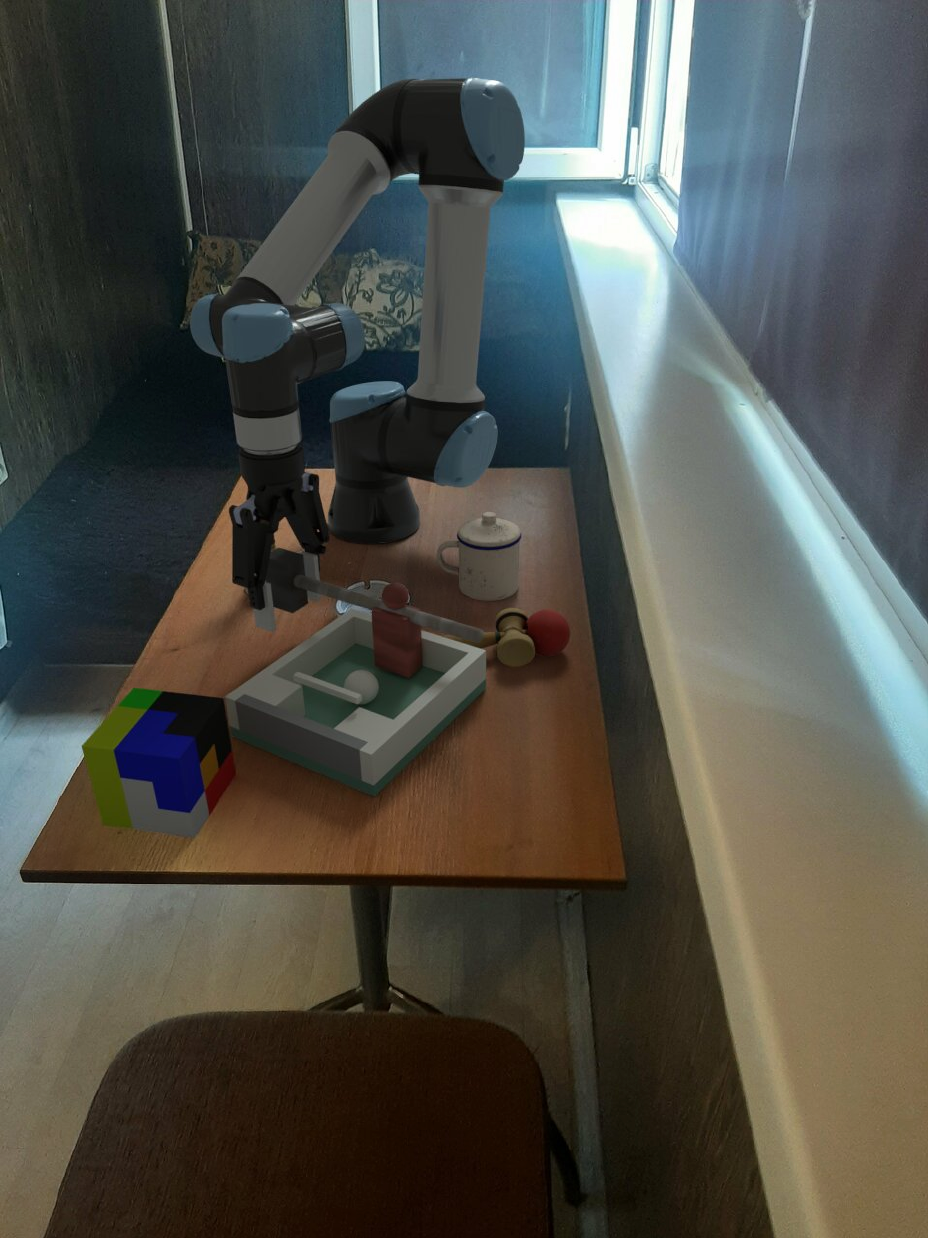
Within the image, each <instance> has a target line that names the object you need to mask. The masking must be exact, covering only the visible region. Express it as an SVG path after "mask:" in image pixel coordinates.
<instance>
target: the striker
mask: <svg viewBox="0 0 928 1238" xmlns="http://www.w3.org/2000/svg"><path fill="white" fill-rule="evenodd" d="M276 548H277V549H275V550H273V551H272V552H270V558H269V563H268V569H267V574H266V582H267V583H270V584H271V592H272V600H273V608H275V609H278V610H281V611H284V612H287V613H290V614H294V613H296V612H297V611H299V610H300V609H302V608H304V607H305V606H307V605H308V604H309V599H308V596H307V590H308V591H311V592H314V593H318V594H321V596H325V597H327V598H331V599H335V600H337V601H340V602H343V603H347V604H351V605H354V606H356V607H359V608H364V609H366V610H370V611H371V613H370V614H371V615H372V628H373V644H374V659H375V666H376V667H379V668H382V669H384V670H387V671H390V672H393V673H396V674H399V675H402V676H405V677H408V678H409V677H410V676H412V675H413V674H414V673H415V672H416V671H418V670H419V669H420V668H421V667H422V666H423V661H422V634H421V630H422V627H424V628H428V629H430V630H434V631H437V632H441V633H444V634H445V635H453V636H456V637H459V638H463V639H466V640H469V641H472V642H475V643H480V642H481V640H482V638H483V632H484V630H483V629H482V628H479V627H475V626H470V625H468V624H464V623H460V622H459V621H455V620H451V619H448V618H445V617H442V616H438V615H434V614H431V613H427V612H424V611H422V610H421V608H419V607H415V606H412V605H408V601H409V599H410V593H409V589H408V588H407V587H406V586H405V584H402V583H401V582H397V581H393V582H390V583H388V584H387V585H385V586H384V587H383V590H382V591H381V598H379V597H376V596H375V597H374V596H372V595H369V594H365V593H362V592H358V591H355V590H352V589H348V588H345V587H343V586H339V585H336V584H333V583H329V582H326V581H323V580H320V581H319V580H316V579H313V578H309V577H306V576H305V567H304V558H303V554H300V553H298V552H296V551H292V550H289V549H286V548H283V547H276Z"/></svg>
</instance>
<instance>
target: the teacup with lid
mask: <svg viewBox="0 0 928 1238" xmlns="http://www.w3.org/2000/svg"><path fill="white" fill-rule="evenodd" d="M456 539H457V540H446V541H444V542H443V543H441V544H440V545H439V546H438V548H437V550H436V558H437V562H438V564H439V566H440V567H441V569H443V570H444V571H445V572H446V573H449V574H454V575H458V583H459V584H458V587H459V590H460V591H461V592H462V593H463V594H464V595H465V596H467V597H468V598H471V599H473V600H477V601H483V602H492V601H493V602H495V601H501V600H505V599H508V598H510V597H511V596H514V594H516V592H517V591H518V589H519V586H520V585H519V584H520V583H519V579H520V578H519V574H520V541H521V539H522V532H521V529H520V528H519V526H518V525H517V524H516V523H514V522H512V521H510V520H507V519H503V518H499V517H497V514H496V513H495V512H493V511H486V512H484V513H482V516H481V517H479V518H475V519H471V520H468V521H466V522H464V523H462V525H460V527H458V530H457V533H456ZM449 548H458V567H457V566H451V565H449V564H448V563H446V561H445V560H444V558H443V552H444V551H445V550H447V549H449Z"/></svg>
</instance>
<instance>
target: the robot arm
mask: <svg viewBox="0 0 928 1238" xmlns="http://www.w3.org/2000/svg"><path fill="white" fill-rule="evenodd" d="M522 114H523V113H522V112H521V108H520V107H519V104H518V100H517V99H516V96H515V95H514V94H513V91H512V90H511V89H510V88H509V87H508V86H507V85H506V84H504V83H503V82H501V81H497V80H495V79H492V80H491V79H484V78H477V77H475V78H474V77H467V78H466V77H465V78H464V77H463V78H462V77H461V78H433V79H432V78H429V79H428V78H427V79H423V78H422V79H419V78H406V79H402V80H398V81H395V82H392V83H389V84H388V85H386V86H384V87H383V88H381V89H379V90H378V91H376V92H375V93H373V94H372V95H370V96H369V97H368V98H366V99H365V100H364V101H363V102H361V103H360V105H358V106H357V107H356V108H354V110H353V111H352V112H351V113H350V114H349V115H348V116H347V117H346V118H345V119H344V121H342V123H341V125H340V126H339V127H338V128H337V129H336V131H335V132H334V133H333V135H332V136H331V137H330V139H329V141H328V142H327V143H328V144H327V156H326V157H325V158H324V160H323V161H322V163H321V164H320V165H319V166H318V168H317V169H316V171H315V173H314V174H313V175H312V176H311V178H310V179H309V180H308V181H307V183H306V184H305V186H304V187H303V188H302V190H301V191H300V192H299V194H298V195H297V197H296V198H295V199H294V201H293V202H292V203H291V205H290V206H289V208H288V209H287V210H286V212H285V213H284V214H283V216H281V218H280V219H279V221H278V222H277V224H276V225H275V226H274V228H272V230H271V232H270V233H269V234H268V236H267V237H266V239H264V241H263V242H262V244H261V245H260V247H259V248H258V249H257V250H256V252H255V253H254V254H253V256H252V257H251V259H250V260H249V262H248V263H247V264H246V266H245V267H244V268H243V270H242V271H241V272H240V273H239V275H238V276H237V278H236V279H235V281H234V282H233V283H232V284H231V286H230V287H229V289H228V290H227V291H226V293H225V294H222V293H215V294H208V295H207V294H206V295H204V296H203V297H201V298H199V299H198V300H197V301H196V303H195V304H194V306H193V308H192V309H191V310H192V311H191V315H190V319H189V327H190V333H191V336H192V338H193V340H194V342H195V344H196V346H197V347H198V348H199V349H200V350H202V351H203V352H205V353H207V354H210V355H212V356H215V357H219V358H223V359H224V361H225V367H226V374H227V381H228V386H229V394H230V399H231V407H232V415H233V423H234V429H235V437H236V444H237V445H238V446H239V448H238V449H237V454H238V455H237V456H238V460H239V461H238V463H239V469H240V470H239V471H240V475H241V478H242V479H243V481H244V482H245V484H246V486H247V491H246V492H247V493H246V498H245V501H244V502H242V503H241V504H240V505H235V504H232V505H230V507H228V514H229V517H230V521H231V525H232V530H231V531H232V532H231V533H232V534H231V535H232V537H231V538H232V539H231V540H232V542H231V543H232V544H231V546H232V547H231V549H232V550H231V551H232V552H231V553H232V557H231V561H232V562H231V564H232V566H231V567H232V568H231V573H232V577H231V579H232V580H231V581H232V584H233V585H237V586H240V587H243V588H244V589H245V588H248V594H247V595H248V603H249V606H250V608H252V609H253V615H254V616H253V617H254V623H255V627H256V628H260V629H262V630H264V631H268V632H271V633H273V632H275V631H276V630H277V624H276V617H275V609H274V608H275V607H273V600H272V592H271V584H270V583H267V582H265V580H266V574H267V569H268V563H269V558H270V552H271V547H272V541H273V536H274V537H275V533H277V532H278V530H279V526H280V522H281V521H282V520H283V519H286V521H287V523H288V525H289V527H290V529H291V530H292V532H293V534H294V536H295V537H296V539H297V542H298V544H299V545H300V547H301V550H300V551H298V552H297V553H300V554H303V558H304V567H305V576H306V577H309V578H313V579H316V580H319V581H321V579H320V573H321V570H322V569H321V568H322V567H321V559H320V556H321V555H324V554H326V552H327V546H325V545H323V544H329V542H330V539H331V537H330V533H331V535H333V536H335V537H336V538H337V539H340V540H342V541H345V542H349V543H356V544H364V545H365V544H366V545H372V544H373V545H374V544H384V543H386V544H387V543H390V542H396V541H398V540H399V541H400V540H402V539H404V538H407V537H409V536H411V535H413V534H414V533H415V532H417V530H418V529H419V528H420V525H421V516H420V515H421V512H420V507H419V506H418V504H417V501H416V499H415V496H414V492H413V490H412V487H411V485H410V482H409V478H411V479H416V480H419V481H425V482H429V483H433V484H436V485H437V486H440V487H446V486H447V487H451V488H452V487H453V488H458V489H459V488H461V489H462V488H467V487H471V486H472V485H474V484H475V483H476V482H478V480H480V478H481V477H482V476H483V475H484V473H485V472H486V470H487V469H488V468H489V465H490V464H491V462H492V459H493V457H494V454H495V450H496V446H497V443H498V436H499V435H498V430H499V429H498V426H497V424H496V423H497V421H496V418H495V416H493V415H492V414H490V413H489V412H488V411H485V403H486V402H485V400H486V396H485V395H484V393H483V392H482V391H481V389H480V387H478V385H477V377H478V376H477V374H478V366H479V365H478V364H479V363H478V362H479V353H480V352H479V351H480V339H481V327H482V316H483V302H484V292H485V290H484V289H485V278H486V268H487V266H486V265H487V255H488V243H489V230H490V218H491V209H492V208H493V205H494V204H495V203H496V202H497V201H499V199H500V198H502V197H503V195H504V185H505V184H504V183H505V181H508V180H509V179H512V178H513V177H515V176H516V175H517V173H518V172H519V170H520V165H521V164H522V163H523V159H524V156H525V155H524V154H525V147H526V146H525V143H526V140H525V139H526V137H525V125H524V119H523V115H522ZM410 174H411V175H418V183H417V184H418V186H417V187H418V188H417V189H419V191H420V192H421V194H422V195H423V196H424V197H425V199H426V201H427V203H428V205H427V218H426V219H427V221H426V239H425V256H424V269H423V271H424V272H423V285H422V287H423V289H422V301H421V303H422V304H421V321H420V322H421V324H420V333H419V334H420V335H419V336H420V337H419V353H418V368H417V379H416V381H415V382H414V383H413V384H412V385H411V386H409V388H408V389H407V390H406V391H405V388H404V385H403V384H401V383H400V382H397V381H388V380H387V381H372V382H365V383H359V384H354V385H351V386H347V387H344V388H342V389H340V390H337V391H336V392H335V393H334V394H333V395H332V397H331V398H330V401H329V411H330V412H329V413H330V414H329V415H330V416H329V419H328V420H329V425H330V433H331V434H330V435H331V436H330V437H331V445H332V446H331V447H332V456H333V465H334V476H335V484H334V487H333V488H334V489H333V493H332V496H331V500H330V504H329V509H328V513H327V519H326V515H325V510H324V507H323V506H324V505H323V503H322V498H321V495H320V476H319V474H316V473H312V472H309V471H308V472H307V471H306V466H305V456H304V454H305V453H304V445H303V444H302V443H301V441H302V439H303V432H302V423H301V422H302V421H301V414H300V405H299V404H300V403H299V394H298V393H299V392H298V384H302V383H304V382H306V381H309V380H312V379H315V378H317V377H320V376H323V375H326V374H329V373H332V372H337V371H341V370H342V369H344V367H346V366H348V365H350V364H352V363H354V362H356V361H357V360H359V358H360V357H361V356H362V353H363V352H364V348H365V346H366V345H365V344H366V335H365V329H364V325H363V322H362V321H361V319H360V317H359V316H358V314H357V312H355V310H354V309H352V308H351V307H350V306H348V305H346V304H345V303H341V302H333V303H321V304H319V305H318V306H317V307H316V306H315V307H307V306H299V305H296V303H297V302H298V300H299V299H300V298H301V296H302V295H303V294H304V292H305V291H306V290H307V288H308V286H309V285H310V283H311V282H312V281H313V279H314V278H315V276H316V275H317V274H318V272H319V271H320V269H321V268H322V267H323V265H324V264H325V262H326V261H327V259H328V258H329V257H330V255H331V254H332V252H333V251H334V250H335V248H336V247H337V245H338V244H339V243H340V241H341V240H342V239H343V237H344V236H345V234H346V233H347V231H348V230H349V228H350V227H351V226H352V224H353V223H354V222H355V220H356V219H357V217H358V216H359V215H360V213H361V211H362V210H363V209H364V207H365V206H366V205H367V203H368V202H369V200H370V199H371V197H372V196H373V195H379V194H382V193H383V192H384V191H386V189H387V188H388V187H389V185H390V184H391V182H393V180H395V179H397V178H398V177H402V176H405V175H410ZM405 395H406V397H405ZM261 519H262V520H264V521H268V522H269V524H267V523H263V522H261ZM327 522H328V523H327ZM254 573H255V574H256V576H255V575H254ZM307 596H308V600H310V601H311V600H312V601H314V602H317V603H318V602H320V601H321V600H322V595H321V594H318V593H314V592H311V591H308V590H307Z"/></svg>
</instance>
